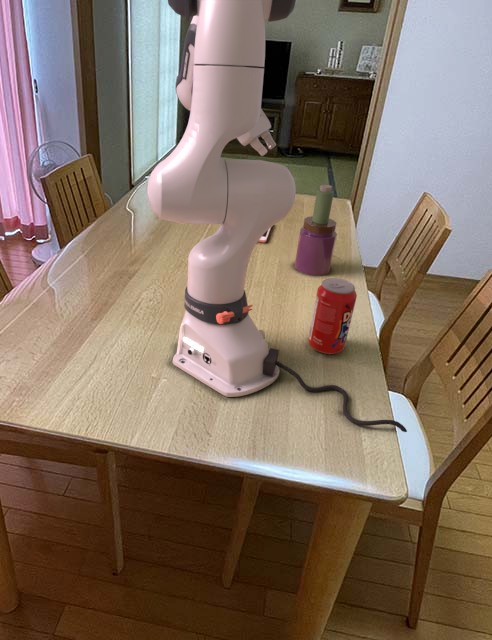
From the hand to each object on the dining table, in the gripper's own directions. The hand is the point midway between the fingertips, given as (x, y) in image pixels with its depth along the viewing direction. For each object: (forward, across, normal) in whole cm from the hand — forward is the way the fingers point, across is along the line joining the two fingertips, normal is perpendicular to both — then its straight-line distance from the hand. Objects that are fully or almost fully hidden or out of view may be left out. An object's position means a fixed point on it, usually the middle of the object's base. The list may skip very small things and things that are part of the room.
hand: (269, 150), depth 128 cm
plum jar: (+33, 0, +10) cm, 35 cm away
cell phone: (+18, +21, +26) cm, 38 cm away
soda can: (+40, -40, +4) cm, 57 cm away
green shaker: (+23, 0, 0) cm, 23 cm away
